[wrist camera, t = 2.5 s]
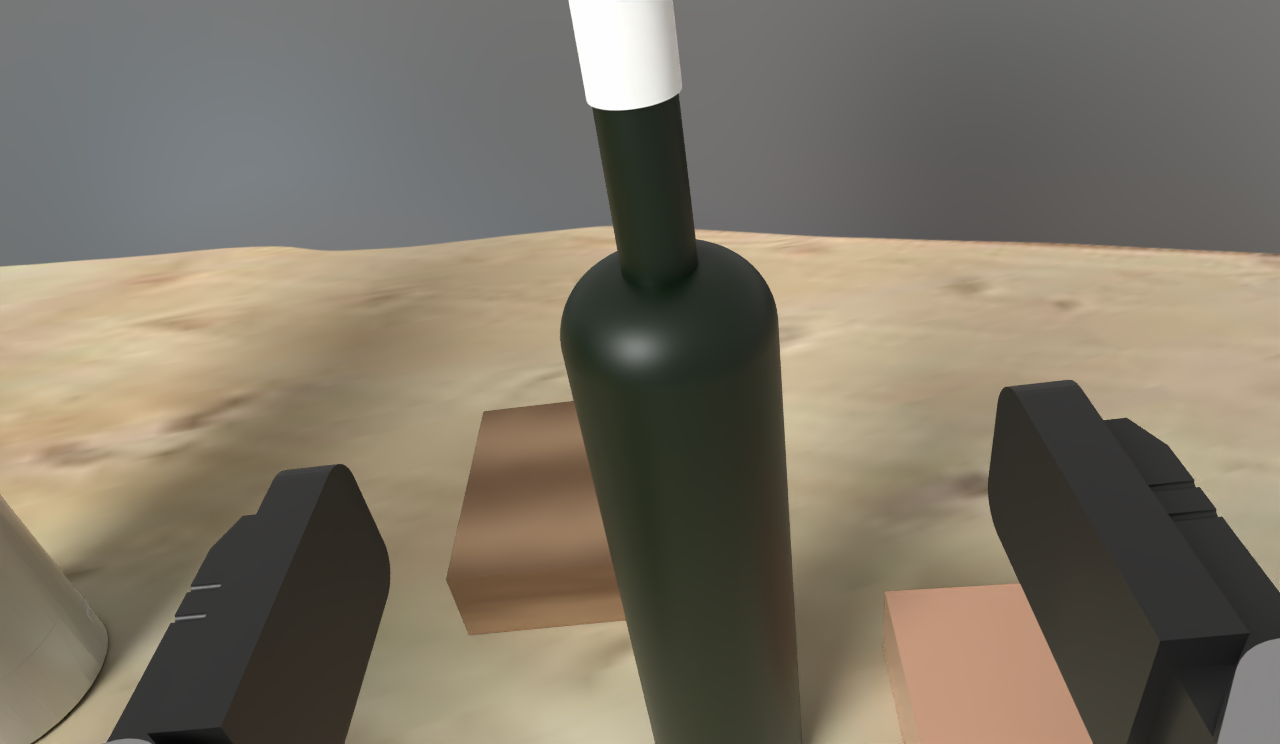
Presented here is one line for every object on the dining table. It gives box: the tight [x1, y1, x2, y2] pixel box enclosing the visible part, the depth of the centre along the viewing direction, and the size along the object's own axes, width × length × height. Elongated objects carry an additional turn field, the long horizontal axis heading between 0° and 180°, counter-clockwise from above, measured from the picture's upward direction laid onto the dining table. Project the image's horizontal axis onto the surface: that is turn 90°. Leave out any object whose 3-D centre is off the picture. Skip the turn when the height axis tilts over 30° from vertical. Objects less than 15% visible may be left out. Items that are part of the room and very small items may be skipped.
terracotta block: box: [883, 583, 1093, 744], centre depth 33 cm, size 8×8×4 cm
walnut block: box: [446, 401, 626, 635], centre depth 44 cm, size 12×12×4 cm
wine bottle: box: [560, 0, 802, 744], centre depth 26 cm, size 6×6×30 cm
